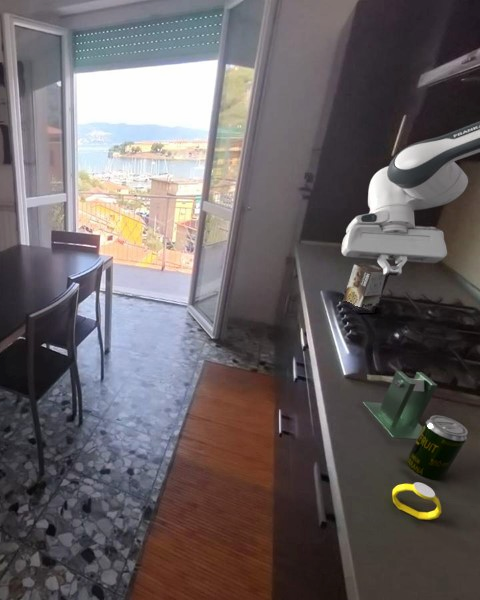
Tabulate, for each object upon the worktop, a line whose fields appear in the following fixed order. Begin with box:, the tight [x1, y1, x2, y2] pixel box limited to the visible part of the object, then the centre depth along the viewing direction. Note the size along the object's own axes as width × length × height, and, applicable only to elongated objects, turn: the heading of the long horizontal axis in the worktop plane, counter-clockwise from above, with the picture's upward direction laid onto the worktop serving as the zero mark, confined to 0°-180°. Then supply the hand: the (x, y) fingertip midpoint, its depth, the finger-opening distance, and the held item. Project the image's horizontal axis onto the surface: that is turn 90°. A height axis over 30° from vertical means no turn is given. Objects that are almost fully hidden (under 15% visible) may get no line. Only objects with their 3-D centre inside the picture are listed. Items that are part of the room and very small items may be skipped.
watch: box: [392, 481, 442, 521], centre depth 61 cm, size 6×3×6 cm, turn 51°
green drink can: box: [406, 414, 469, 482], centre depth 66 cm, size 5×5×12 cm
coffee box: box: [342, 262, 390, 307], centre depth 127 cm, size 9×6×16 cm
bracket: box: [362, 370, 438, 440], centre depth 77 cm, size 11×8×13 cm
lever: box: [366, 374, 424, 392], centre depth 79 cm, size 11×6×2 cm, turn 172°
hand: (392, 274), depth 86 cm, fingers closed
